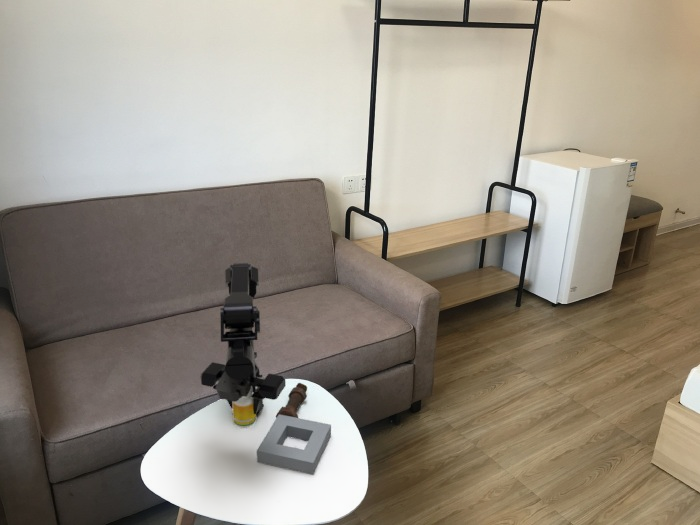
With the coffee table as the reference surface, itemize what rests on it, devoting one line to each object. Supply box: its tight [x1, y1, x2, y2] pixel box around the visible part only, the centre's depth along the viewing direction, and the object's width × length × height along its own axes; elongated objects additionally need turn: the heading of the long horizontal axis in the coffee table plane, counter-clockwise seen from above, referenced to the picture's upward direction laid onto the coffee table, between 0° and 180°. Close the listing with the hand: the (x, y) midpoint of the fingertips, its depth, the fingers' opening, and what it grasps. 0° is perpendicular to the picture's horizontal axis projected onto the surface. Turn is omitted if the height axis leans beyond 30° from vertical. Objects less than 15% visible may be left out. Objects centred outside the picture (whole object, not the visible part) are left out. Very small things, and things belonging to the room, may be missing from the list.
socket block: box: [256, 414, 332, 476], centre depth 141 cm, size 14×14×4 cm
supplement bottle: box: [232, 386, 257, 429], centre depth 134 cm, size 5×5×10 cm
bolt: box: [275, 382, 308, 419], centre depth 155 cm, size 6×5×15 cm
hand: (244, 410), depth 134 cm, fingers closed on supplement bottle, 5 cm apart
